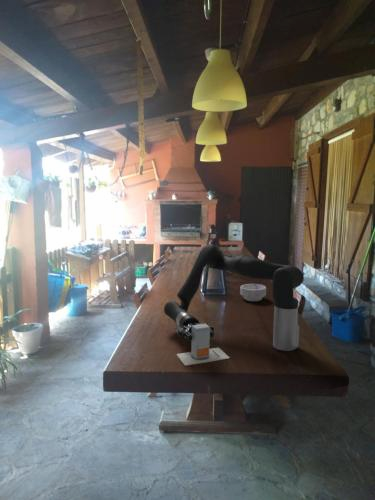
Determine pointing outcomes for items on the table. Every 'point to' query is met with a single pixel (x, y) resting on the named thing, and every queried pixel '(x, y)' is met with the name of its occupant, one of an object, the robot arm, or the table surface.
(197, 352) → the skincare box
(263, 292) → the paper bowls
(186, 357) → the paper sheet
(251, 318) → the table surface
